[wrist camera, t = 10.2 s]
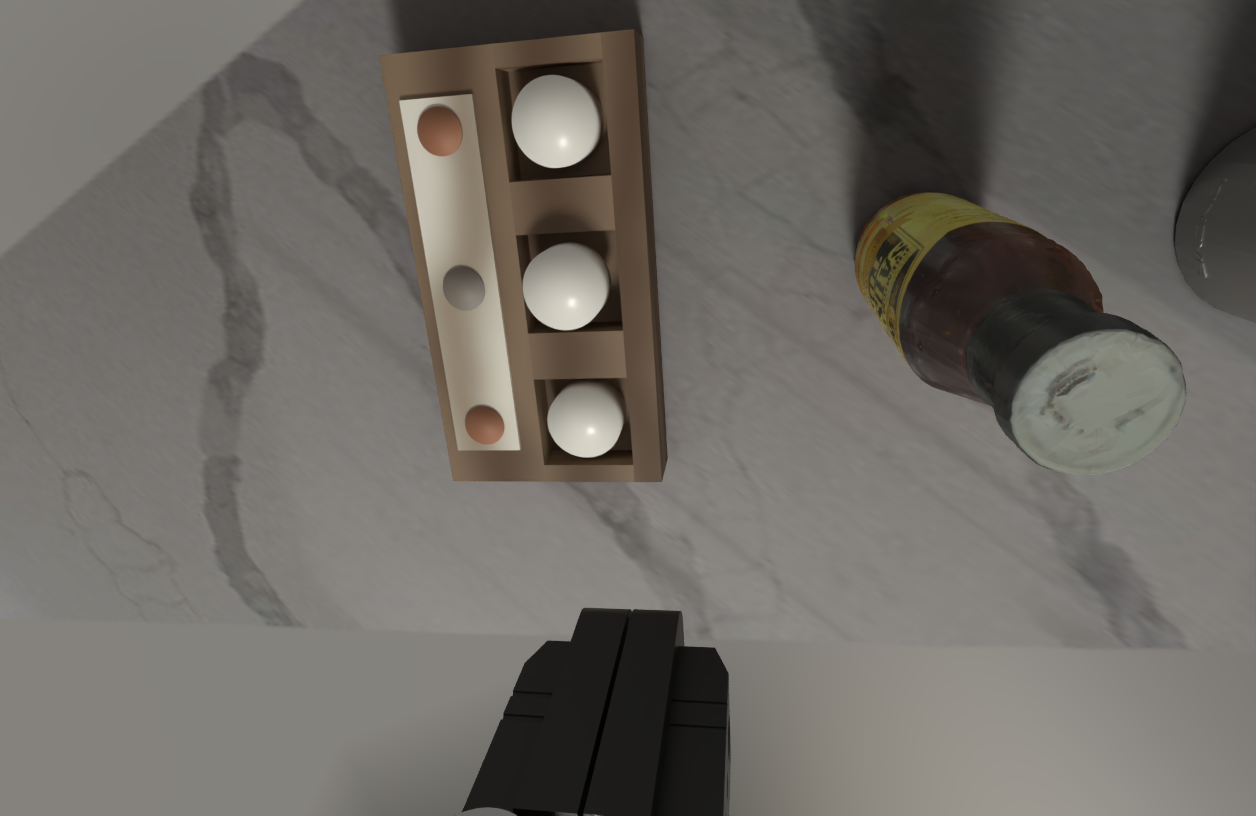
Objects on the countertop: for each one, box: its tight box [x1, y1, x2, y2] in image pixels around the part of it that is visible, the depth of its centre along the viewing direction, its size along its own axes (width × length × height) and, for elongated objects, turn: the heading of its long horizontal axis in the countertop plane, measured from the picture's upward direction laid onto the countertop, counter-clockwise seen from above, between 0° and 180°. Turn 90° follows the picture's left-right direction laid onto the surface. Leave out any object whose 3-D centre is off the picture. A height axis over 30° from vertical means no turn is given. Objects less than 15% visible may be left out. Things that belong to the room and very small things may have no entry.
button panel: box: [379, 29, 667, 482], centre depth 37 cm, size 12×22×3 cm, turn 4°
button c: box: [512, 75, 604, 168], centre depth 34 cm, size 4×4×2 cm
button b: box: [523, 242, 611, 330], centre depth 35 cm, size 4×4×2 cm
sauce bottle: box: [854, 192, 1186, 476], centre depth 27 cm, size 7×6×20 cm
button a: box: [547, 378, 626, 457], centre depth 39 cm, size 4×4×2 cm
